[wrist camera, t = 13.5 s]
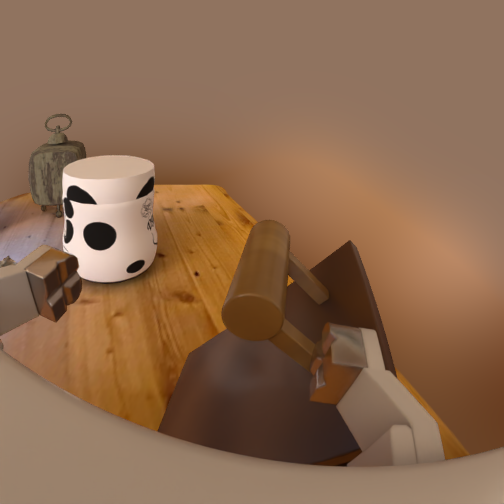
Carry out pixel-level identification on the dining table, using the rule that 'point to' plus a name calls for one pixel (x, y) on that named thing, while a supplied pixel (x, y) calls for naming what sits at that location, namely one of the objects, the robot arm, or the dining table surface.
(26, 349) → the dining table surface
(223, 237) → the dining table surface
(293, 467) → the robot arm
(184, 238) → the dining table surface
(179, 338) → the dining table surface
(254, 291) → the chest lid
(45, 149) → the tabletop clock
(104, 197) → the milk container
